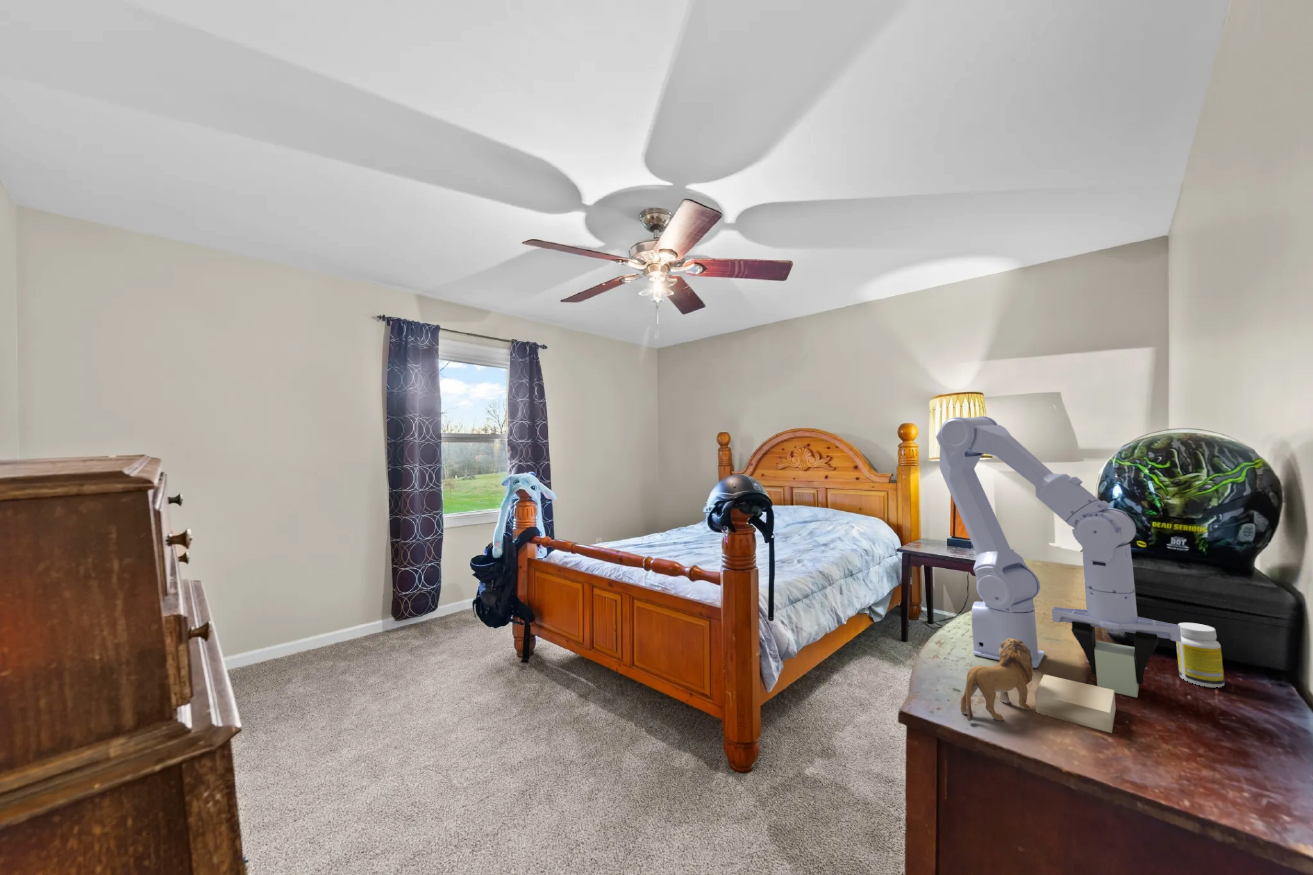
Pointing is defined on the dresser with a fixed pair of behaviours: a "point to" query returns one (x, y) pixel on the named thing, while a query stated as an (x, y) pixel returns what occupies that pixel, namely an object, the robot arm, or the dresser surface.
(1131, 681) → the sage green block
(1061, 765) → the dresser surface
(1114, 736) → the dresser surface
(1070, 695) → the pale maple block
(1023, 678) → the lion figurine
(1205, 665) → the supplement bottle
